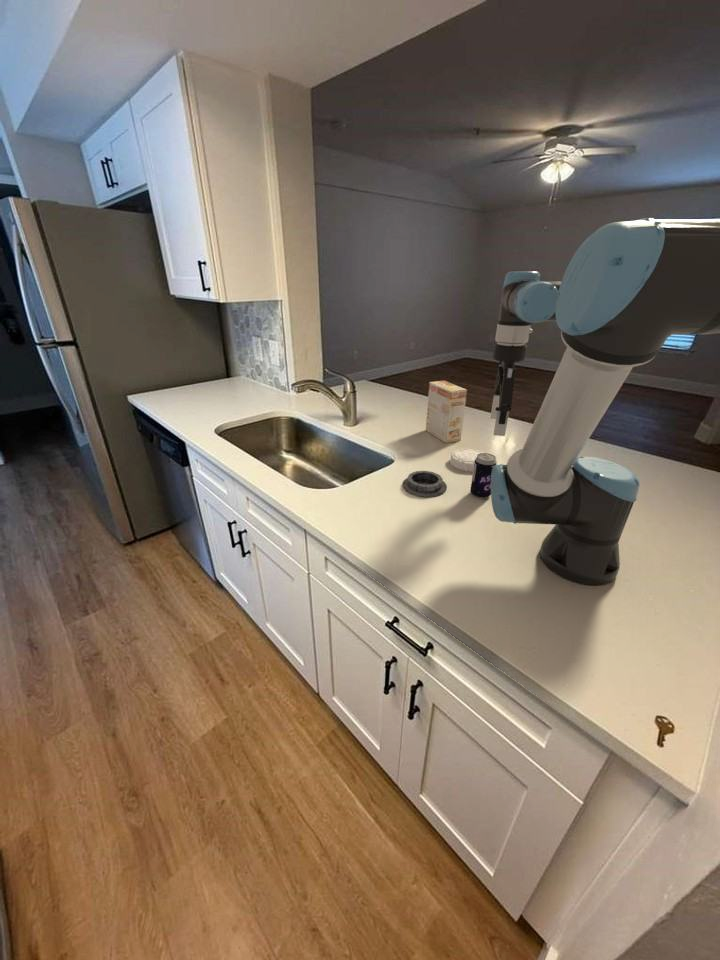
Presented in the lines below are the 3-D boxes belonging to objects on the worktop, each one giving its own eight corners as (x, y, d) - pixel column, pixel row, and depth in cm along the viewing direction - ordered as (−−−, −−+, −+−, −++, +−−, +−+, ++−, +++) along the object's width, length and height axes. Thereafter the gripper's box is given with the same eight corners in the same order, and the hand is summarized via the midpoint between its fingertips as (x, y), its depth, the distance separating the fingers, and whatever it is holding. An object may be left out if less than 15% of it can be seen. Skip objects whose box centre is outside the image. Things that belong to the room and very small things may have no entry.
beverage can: (476, 501, 108) (482, 462, 102) (466, 491, 112) (471, 453, 107) (494, 498, 109) (501, 459, 103) (483, 489, 114) (489, 451, 108)
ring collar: (443, 500, 108) (444, 492, 107) (397, 493, 112) (398, 485, 110) (449, 479, 119) (450, 472, 118) (407, 473, 122) (408, 466, 121)
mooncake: (445, 468, 126) (447, 458, 125) (455, 454, 136) (456, 444, 134) (483, 475, 122) (485, 465, 120) (490, 460, 131) (491, 451, 130)
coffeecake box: (461, 440, 146) (468, 389, 137) (445, 443, 144) (450, 391, 135) (440, 427, 159) (444, 379, 149) (424, 430, 156) (428, 381, 147)
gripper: (535, 352, 83) (517, 444, 93) (520, 337, 104) (507, 413, 114) (498, 350, 84) (484, 442, 94) (491, 336, 106) (480, 411, 116)
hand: (497, 426), depth 104 cm, fingers open, 13 cm apart
